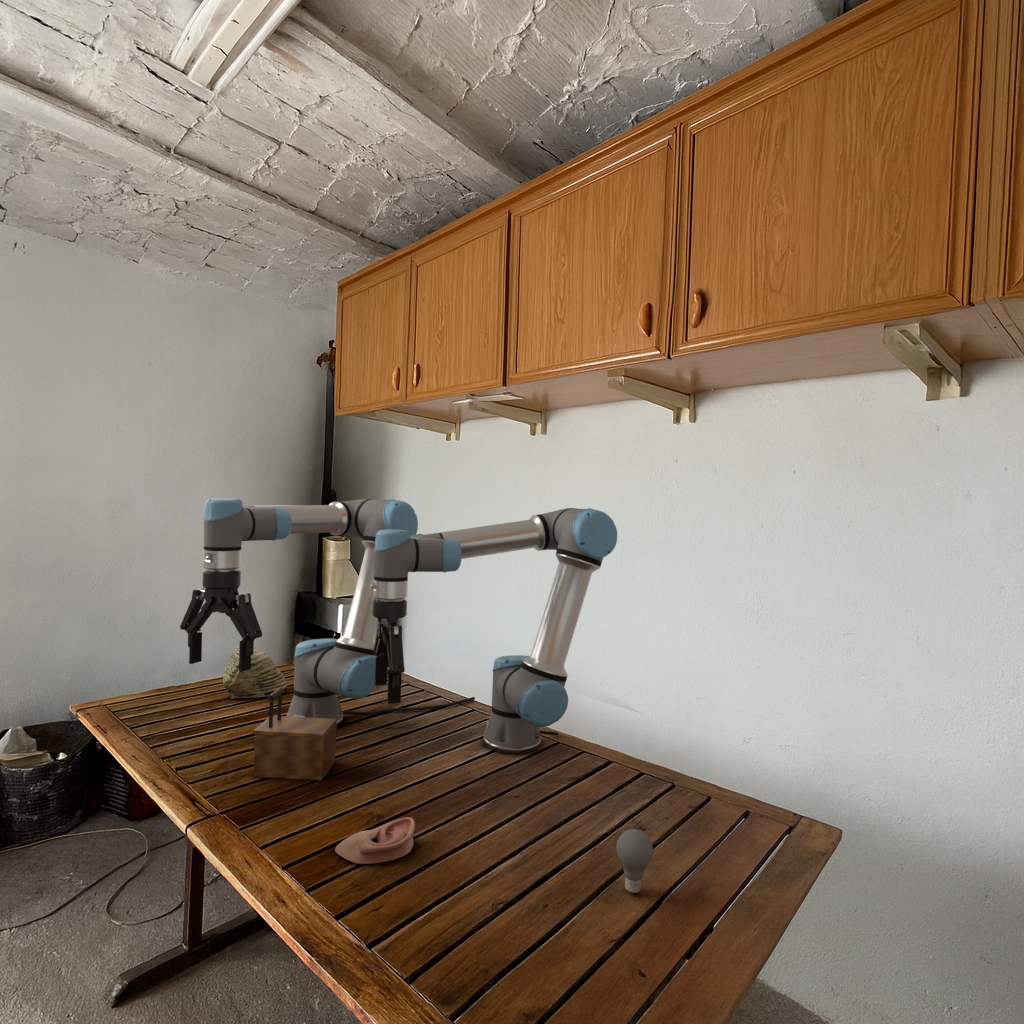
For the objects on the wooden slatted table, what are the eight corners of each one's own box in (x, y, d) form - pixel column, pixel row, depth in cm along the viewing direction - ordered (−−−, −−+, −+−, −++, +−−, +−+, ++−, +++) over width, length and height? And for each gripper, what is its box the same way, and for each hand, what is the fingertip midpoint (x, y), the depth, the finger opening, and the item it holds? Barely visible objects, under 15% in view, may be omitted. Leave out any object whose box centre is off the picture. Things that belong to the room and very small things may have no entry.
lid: (252, 734, 142) (254, 697, 141) (271, 718, 152) (272, 684, 151) (322, 738, 141) (324, 700, 141) (336, 722, 151) (338, 687, 151)
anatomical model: (327, 836, 111) (356, 806, 122) (326, 858, 111) (355, 826, 122) (398, 848, 108) (421, 815, 119) (397, 871, 108) (420, 836, 119)
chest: (253, 776, 142) (255, 734, 142) (271, 758, 152) (273, 719, 152) (321, 780, 141) (322, 738, 141) (335, 762, 151) (336, 722, 151)
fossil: (218, 695, 195) (220, 647, 195) (278, 685, 208) (279, 640, 207) (228, 703, 189) (230, 653, 188) (289, 692, 201) (290, 645, 201)
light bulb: (610, 879, 108) (613, 822, 108) (644, 879, 109) (647, 822, 109) (619, 902, 102) (622, 840, 102) (655, 901, 103) (658, 840, 103)
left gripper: (163, 566, 138) (161, 663, 139) (256, 575, 130) (253, 678, 131) (191, 563, 145) (189, 655, 146) (281, 571, 137) (278, 669, 138)
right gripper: (363, 590, 151) (360, 679, 151) (385, 609, 128) (381, 713, 129) (394, 590, 154) (391, 676, 154) (421, 607, 131) (417, 709, 132)
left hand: (219, 666), depth 138 cm, fingers open, 13 cm apart
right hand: (387, 693), depth 141 cm, fingers open, 13 cm apart
